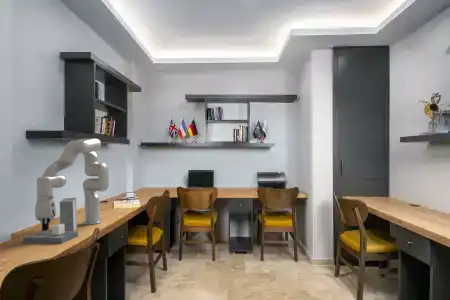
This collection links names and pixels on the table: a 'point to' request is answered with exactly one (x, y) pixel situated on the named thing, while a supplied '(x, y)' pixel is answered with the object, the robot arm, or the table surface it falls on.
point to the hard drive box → (68, 213)
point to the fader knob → (58, 229)
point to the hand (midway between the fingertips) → (45, 230)
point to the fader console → (50, 237)
